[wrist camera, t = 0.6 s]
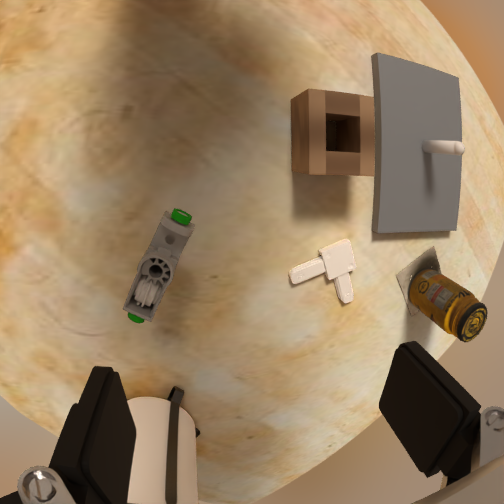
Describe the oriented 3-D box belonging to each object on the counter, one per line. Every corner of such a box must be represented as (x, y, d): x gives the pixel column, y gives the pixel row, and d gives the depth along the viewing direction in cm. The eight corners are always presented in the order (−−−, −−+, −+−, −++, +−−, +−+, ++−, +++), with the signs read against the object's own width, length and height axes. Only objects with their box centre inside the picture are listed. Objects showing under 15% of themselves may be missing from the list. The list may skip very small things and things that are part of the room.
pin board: (371, 55, 30) (409, 37, 22) (451, 78, 32) (492, 72, 24) (371, 230, 36) (409, 249, 28) (449, 227, 38) (489, 243, 30)
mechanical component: (201, 204, 33) (199, 224, 23) (162, 284, 35) (149, 330, 25) (176, 191, 32) (164, 206, 22) (139, 273, 34) (118, 315, 24)
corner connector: (302, 316, 39) (305, 322, 38) (283, 261, 36) (287, 266, 35) (357, 292, 39) (362, 297, 38) (344, 237, 37) (350, 240, 35)
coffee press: (131, 356, 37) (86, 578, 9) (225, 409, 42) (255, 600, 13) (82, 415, 39) (42, 574, 11) (163, 457, 44) (163, 607, 16)
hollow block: (290, 99, 30) (308, 88, 25) (347, 104, 31) (373, 97, 26) (291, 171, 33) (309, 174, 27) (348, 172, 34) (374, 176, 28)
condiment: (411, 316, 42) (458, 358, 30) (395, 274, 39) (450, 314, 28) (444, 288, 41) (495, 322, 30) (432, 245, 39) (491, 274, 27)
